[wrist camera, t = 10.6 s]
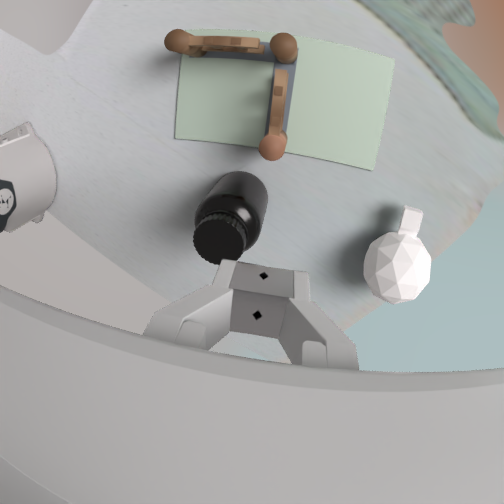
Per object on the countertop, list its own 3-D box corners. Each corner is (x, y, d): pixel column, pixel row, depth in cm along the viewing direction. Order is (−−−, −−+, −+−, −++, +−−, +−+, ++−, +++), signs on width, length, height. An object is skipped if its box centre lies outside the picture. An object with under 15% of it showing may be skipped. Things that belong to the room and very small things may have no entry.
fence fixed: (299, 46, 26) (298, 34, 20) (296, 66, 27) (295, 58, 21) (190, 39, 26) (165, 30, 21) (188, 57, 28) (163, 51, 22)
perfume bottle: (414, 291, 37) (440, 211, 32) (417, 326, 29) (453, 230, 24) (359, 275, 40) (380, 194, 35) (350, 306, 32) (377, 207, 27)
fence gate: (273, 72, 27) (267, 67, 22) (295, 75, 27) (294, 70, 22) (265, 147, 32) (257, 158, 26) (286, 150, 31) (283, 162, 26)
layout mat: (175, 138, 33) (174, 138, 33) (185, 30, 26) (184, 29, 26) (372, 170, 32) (373, 171, 31) (394, 59, 24) (395, 59, 24)
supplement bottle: (220, 222, 38) (190, 275, 28) (210, 173, 35) (172, 210, 25) (272, 219, 37) (259, 274, 27) (265, 167, 34) (249, 203, 24)
